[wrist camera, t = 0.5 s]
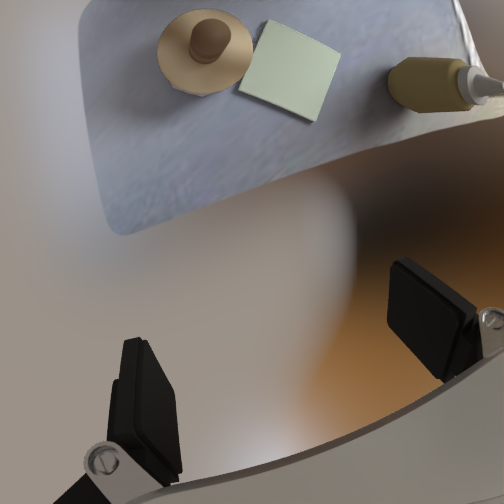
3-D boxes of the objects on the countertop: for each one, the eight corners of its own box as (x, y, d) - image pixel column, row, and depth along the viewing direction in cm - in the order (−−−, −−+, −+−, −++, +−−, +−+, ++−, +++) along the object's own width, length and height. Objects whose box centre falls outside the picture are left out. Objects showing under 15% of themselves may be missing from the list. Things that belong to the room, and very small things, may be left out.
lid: (179, 1, 22) (180, -22, 17) (264, 29, 25) (282, 12, 20) (143, 79, 25) (136, 69, 20) (232, 106, 28) (244, 102, 23)
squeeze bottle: (398, 49, 33) (498, 37, 17) (428, 90, 37) (525, 97, 21) (370, 81, 35) (475, 75, 19) (403, 123, 38) (504, 140, 22)
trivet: (267, 20, 29) (269, 18, 28) (338, 55, 32) (341, 54, 32) (237, 90, 32) (238, 89, 31) (312, 121, 35) (315, 121, 35)
